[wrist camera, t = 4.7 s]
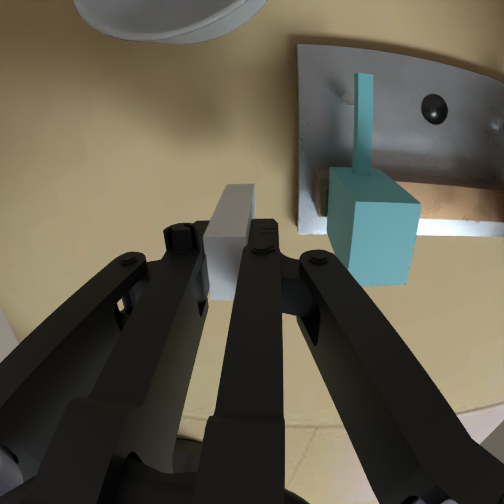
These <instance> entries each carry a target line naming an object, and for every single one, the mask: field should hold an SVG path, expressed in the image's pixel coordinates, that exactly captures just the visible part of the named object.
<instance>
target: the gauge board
mask: <svg viewBox="0 0 504 504" xmlns="http://www.w3.org/2000/svg"><path fill="white" fill-rule="evenodd" d="M296 60H297V100H298V200H297V231H298V234H327V231H326V229H327V213H328V195H329V172H330V167H351V168H352V162H353V139H354V106H353V105H347V104H345V103H344V102H343V100H342V96H343V94H344V93H346V92H354V74H356V73H363V74H372V75H373V130H372V151H371V167H370V168H372V169H380V170H381V171H382V172H384V173H385V174H386V175H387V176H389V177H390V178H391V179H392V180H394V181H395V182H396V183H397V184H399V185H400V186H401V187H402V188H404V189H405V190H406V191H407V192H408V193H410V194H411V195H412V196H413V197H414V198H415V199H417V200H418V201H419V202H420V203H421V204H422V206H421V212H420V218H419V224H418V230H417V235H455V236H498V237H504V82H501V81H499V80H496V79H493V78H490V77H487V76H484V75H481V74H478V73H475V72H472V71H468V70H465V69H461V68H458V67H454V66H451V65H447V64H443V63H439V62H435V61H430V60H426V59H421V58H417V57H412V56H406V55H401V54H395V53H389V52H383V51H376V50H369V49H361V48H352V47H341V46H329V45H311V44H297V46H296Z"/></svg>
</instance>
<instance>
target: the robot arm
mask: <svg viewBox="0 0 504 504" xmlns="http://www.w3.org/2000/svg"><path fill="white" fill-rule="evenodd" d="M163 233H164V239H165V244H166V250H167V251H166V252H165V254H164V256H163V258H162V259H161V260H157V261H151V262H146V257H145V255H144V254H143V253H140V252H127V253H125V254H123V255H120V256H118V257H117V258H115V259H114V260H113V261H112V262H110V263H109V264H108V265H107V266H106V267H104V268H103V269H102V270H101V271H100V272H98V273H97V274H96V275H95V276H94V277H92V278H91V279H90V280H89V281H88V282H87V283H85V284H84V285H83V286H82V287H81V288H80V289H79V290H77V291H76V292H75V293H74V294H73V295H72V296H71V297H69V298H68V299H67V300H66V301H65V302H64V303H63V304H62V305H61V306H59V307H58V308H57V309H56V310H55V311H54V312H53V313H52V314H51V315H50V316H48V317H47V318H46V319H45V320H44V321H43V322H42V323H41V324H40V325H39V326H38V327H37V328H36V329H35V330H33V331H32V332H31V333H30V334H29V335H28V336H27V337H26V338H25V339H24V340H23V341H22V342H21V343H20V344H19V345H18V346H17V347H16V348H15V349H14V350H13V351H12V352H11V353H10V354H9V355H8V356H7V357H6V358H5V359H4V360H3V361H2V362H1V363H0V504H309V503H308V502H307V501H306V500H304V499H303V498H301V497H300V496H298V495H296V494H295V493H293V492H291V491H289V490H287V489H285V420H284V412H283V337H282V313H286V314H291V315H295V316H297V317H296V318H297V323H298V325H299V327H300V329H301V332H302V334H303V336H304V338H305V340H306V342H307V345H308V347H309V349H310V351H311V353H312V356H313V358H314V360H315V362H316V364H317V367H318V369H319V371H320V373H321V375H322V378H323V380H324V382H325V384H326V387H327V389H328V391H329V393H330V395H331V398H332V400H333V402H334V404H335V407H336V409H337V411H338V413H339V415H340V418H341V420H342V422H343V424H344V427H345V429H346V431H347V433H348V436H349V438H350V440H351V442H352V445H353V447H354V449H355V451H356V454H357V456H358V458H359V460H360V463H361V465H362V467H363V470H364V472H365V474H366V476H367V479H368V481H369V483H370V486H371V488H372V490H373V492H374V494H375V496H376V498H377V500H378V502H379V504H504V464H503V463H502V462H501V461H499V460H498V459H497V458H496V457H494V456H493V455H492V454H490V453H489V452H488V451H487V450H485V449H484V448H483V447H482V446H480V445H479V444H478V443H476V442H475V441H474V440H473V439H472V438H471V437H470V435H469V434H468V432H467V431H466V429H465V428H464V426H463V425H462V423H461V422H460V420H459V419H458V417H457V416H456V414H455V413H454V411H453V410H452V408H451V407H450V405H449V404H448V402H447V401H446V399H445V398H444V396H443V395H442V394H441V392H440V391H439V389H438V388H437V386H436V385H435V384H434V382H433V381H432V379H431V378H430V377H429V375H428V374H427V372H426V371H425V370H424V368H423V367H422V365H421V364H420V363H419V361H418V360H417V359H416V357H415V356H414V354H413V353H412V352H411V350H410V349H409V348H408V346H407V345H406V344H405V342H404V341H403V340H402V338H401V337H400V336H399V334H398V333H397V332H396V330H395V329H394V328H393V326H392V325H391V324H390V323H389V321H388V320H387V319H386V317H385V316H384V315H383V314H382V312H381V311H380V310H379V308H378V307H377V306H376V305H375V303H374V302H373V301H372V300H371V298H370V297H369V296H368V294H367V293H366V292H365V291H364V289H363V288H362V287H361V286H360V285H359V283H358V282H357V281H356V280H355V278H354V277H353V276H352V275H351V273H350V272H349V271H348V270H347V269H346V267H345V266H344V265H343V264H342V263H341V261H340V260H339V259H338V258H337V257H336V256H335V255H334V254H333V253H330V252H328V251H325V250H319V249H318V250H310V251H306V252H304V253H303V254H301V256H300V259H299V260H297V259H293V258H289V257H287V256H285V255H283V254H282V253H281V252H280V249H279V234H278V223H277V222H276V221H275V220H274V219H256V211H255V184H227V185H226V187H225V189H224V191H223V194H222V196H221V198H220V200H219V202H218V204H217V207H216V209H215V211H214V213H213V216H212V218H211V220H209V221H196V222H194V223H193V224H192V223H178V224H174V225H171V226H169V227H167V228H165V229H164V230H163ZM209 291H210V299H211V300H234V302H233V308H232V314H231V319H230V325H229V331H228V337H227V343H226V348H225V354H224V360H223V366H222V372H221V378H220V384H219V390H218V396H217V402H216V408H215V412H214V415H213V416H209V418H208V420H207V424H206V428H205V433H204V438H203V444H202V443H198V442H194V441H189V440H183V439H176V437H177V433H178V429H179V424H180V420H181V416H182V412H183V408H184V403H185V399H186V395H187V391H188V387H189V383H190V379H191V374H192V370H193V366H194V362H195V358H196V354H197V350H198V346H199V343H200V339H201V335H202V331H203V327H204V323H205V319H206V315H207V312H208V299H207V295H208V292H209ZM121 298H122V301H123V305H124V309H123V310H122V311H119V309H118V306H117V302H118V301H119V300H120V299H121Z"/></svg>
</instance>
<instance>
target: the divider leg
mask: <svg viewBox="0 0 504 504" xmlns="http://www.w3.org/2000/svg"><path fill="white" fill-rule="evenodd" d="M342 100H343V102H344V103H345V104H347V105H353V106H354V139H353V162H352V168H351V167H330V172H329V195H328V213H327V229H326V231H327V234H328V237H329V239H330V242H331V245H332V248H333V251H334V253H335V256H336V257H337V258H338V259H339V260H340V261H341V263H342V264H343V265H344V266H345V267H346V269H347V270H348V271H349V272H350V273H351V275H352V276H353V277H354V278H355V280H356V281H357V282H358V283H359V285H360V286H381V285H406V281H407V277H408V272H409V268H410V264H411V259H412V255H413V250H414V245H415V240H416V235H417V230H418V224H419V218H420V212H421V206H422V204H421V203H420V202H419V201H418V200H417V199H415V198H414V197H413V196H412V195H411V194H410V193H408V192H407V191H406V190H405V189H404V188H402V187H401V186H400V185H399V184H397V183H396V182H395V181H394V180H392V179H391V178H390V177H389V176H387V175H386V174H385V173H384V172H382V171H381V170H380V169H372V168H370V167H371V151H372V130H373V75H372V74H363V73H356V74H354V92H346V93H344V94H343V96H342Z"/></svg>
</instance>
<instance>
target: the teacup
mask: <svg viewBox="0 0 504 504" xmlns="http://www.w3.org/2000/svg"><path fill="white" fill-rule="evenodd" d="M73 1H74V4H75V7H76V9H77V11H78V12H79V14H80V15H81V17H82V18H83V19H84V20H85V21H86V22H87V23H88V24H89V25H90V26H91V27H93V28H94V29H96V30H98V31H100V32H102V33H104V34H106V35H108V36H111V37H114V38H118V39H122V40H129V41H150V42H156V43H164V44H193V43H198V42H204V41H208V40H211V39H215V38H218V37H220V36H223V35H225V34H227V33H230V32H232V31H233V30H235V29H237V28H239V27H240V26H242V25H243V24H245V23H246V22H247V21H249V20H250V19H251V18H252V17H253V16H255V15H256V14H257V13H258V12H259V11H260V10H261V8H262V7H263V6H264V5H265V3H266V2H267V0H73Z"/></svg>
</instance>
